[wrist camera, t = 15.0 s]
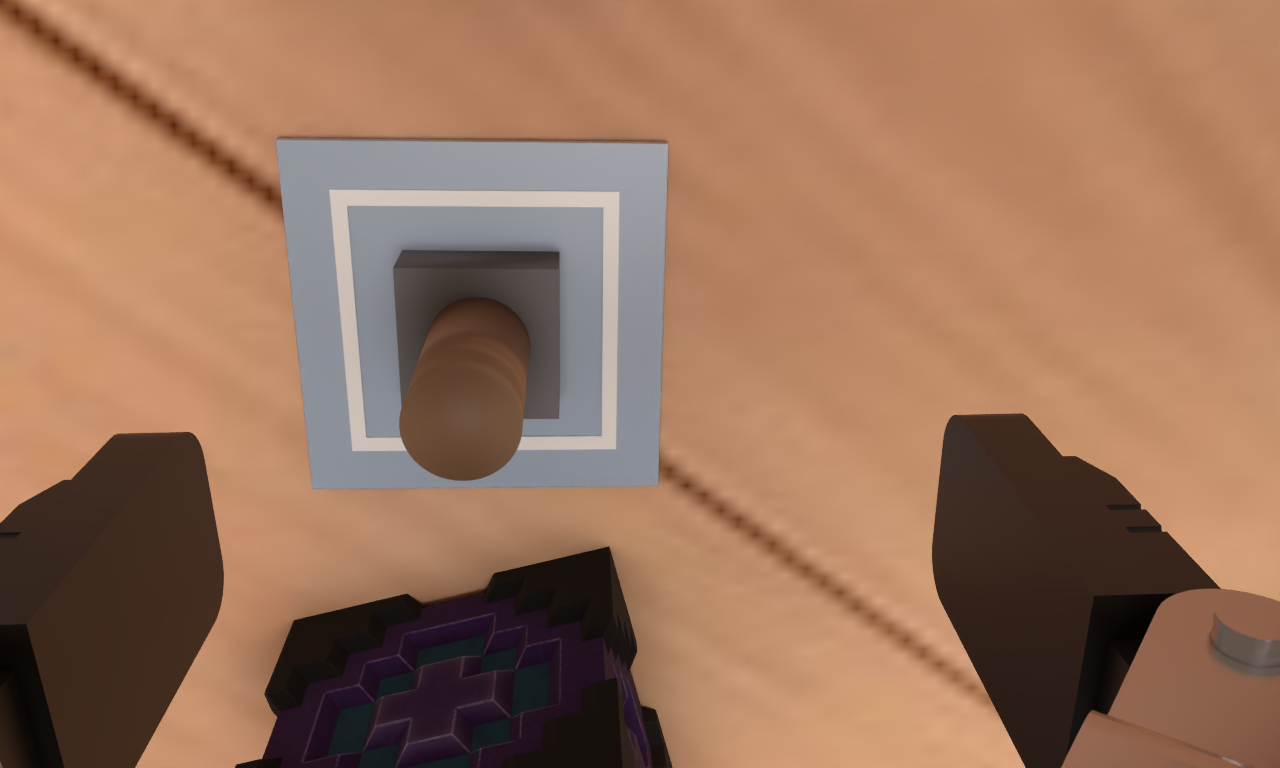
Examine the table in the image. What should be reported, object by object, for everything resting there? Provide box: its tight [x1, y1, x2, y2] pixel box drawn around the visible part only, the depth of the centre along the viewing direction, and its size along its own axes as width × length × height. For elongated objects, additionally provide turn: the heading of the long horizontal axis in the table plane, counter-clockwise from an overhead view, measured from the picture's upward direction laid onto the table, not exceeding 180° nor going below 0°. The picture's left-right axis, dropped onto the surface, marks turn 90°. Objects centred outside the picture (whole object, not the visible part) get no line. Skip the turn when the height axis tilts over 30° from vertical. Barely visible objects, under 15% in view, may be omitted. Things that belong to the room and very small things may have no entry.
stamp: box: [393, 250, 560, 481], centre depth 33 cm, size 5×5×8 cm
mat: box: [276, 138, 668, 489], centre depth 36 cm, size 12×12×1 cm
